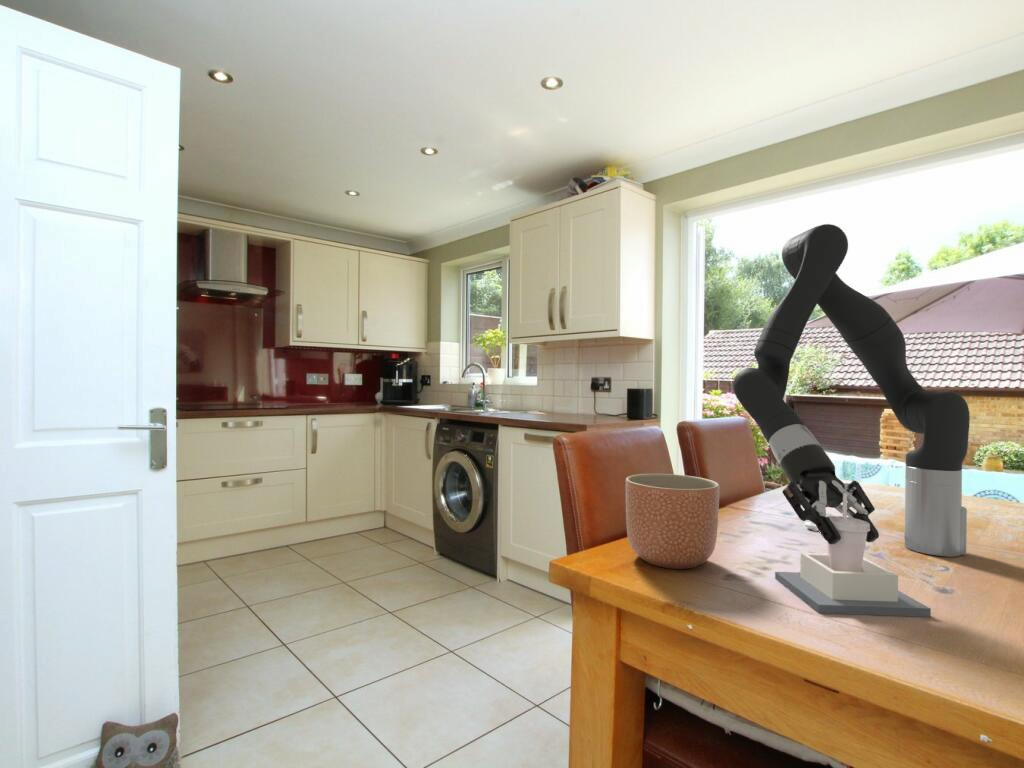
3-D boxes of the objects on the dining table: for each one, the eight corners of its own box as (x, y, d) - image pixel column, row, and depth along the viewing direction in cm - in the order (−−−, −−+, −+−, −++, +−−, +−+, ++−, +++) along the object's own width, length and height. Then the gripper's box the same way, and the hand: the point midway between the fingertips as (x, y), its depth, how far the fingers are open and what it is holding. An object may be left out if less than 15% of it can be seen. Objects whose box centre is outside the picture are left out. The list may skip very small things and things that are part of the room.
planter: (726, 580, 90) (727, 491, 90) (624, 572, 94) (626, 486, 94) (709, 550, 107) (710, 475, 107) (624, 544, 110) (625, 471, 110)
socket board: (869, 581, 91) (870, 551, 91) (930, 616, 77) (931, 581, 77) (775, 578, 92) (775, 548, 92) (818, 612, 78) (818, 577, 78)
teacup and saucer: (801, 531, 125) (802, 514, 125) (812, 525, 130) (812, 509, 130) (844, 539, 119) (844, 521, 119) (853, 533, 124) (853, 515, 124)
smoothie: (855, 575, 87) (857, 490, 87) (878, 590, 81) (880, 498, 81) (814, 572, 88) (816, 489, 88) (834, 587, 82) (836, 497, 82)
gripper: (776, 442, 90) (830, 530, 79) (846, 442, 93) (908, 526, 82) (754, 469, 95) (803, 554, 84) (822, 467, 99) (877, 550, 87)
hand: (855, 540), depth 83 cm, fingers open, 6 cm apart
